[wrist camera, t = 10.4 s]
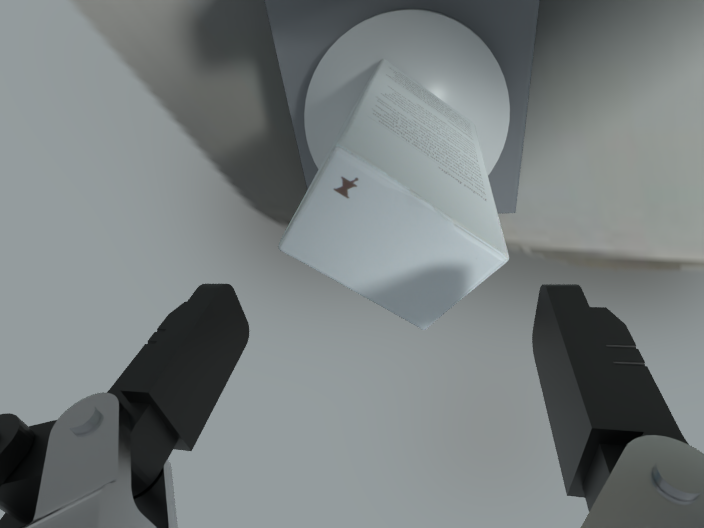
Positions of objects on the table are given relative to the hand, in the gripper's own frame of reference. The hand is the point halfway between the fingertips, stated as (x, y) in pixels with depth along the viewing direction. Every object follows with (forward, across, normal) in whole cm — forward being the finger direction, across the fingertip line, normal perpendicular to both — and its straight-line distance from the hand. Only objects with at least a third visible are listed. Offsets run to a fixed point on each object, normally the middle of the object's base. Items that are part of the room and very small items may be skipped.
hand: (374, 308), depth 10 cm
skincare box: (+14, 0, 0) cm, 14 cm away
